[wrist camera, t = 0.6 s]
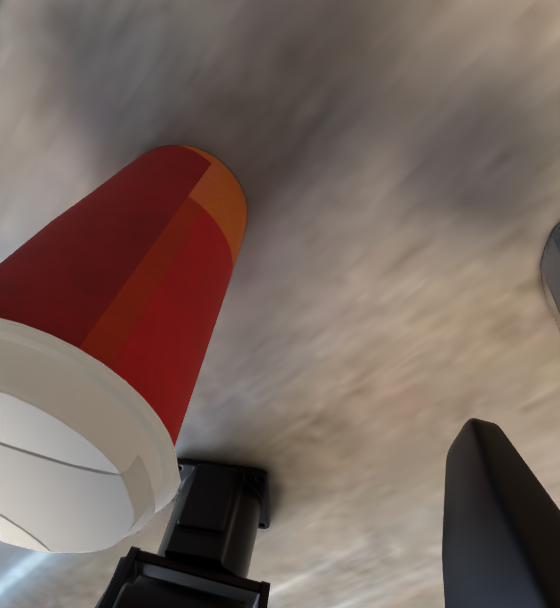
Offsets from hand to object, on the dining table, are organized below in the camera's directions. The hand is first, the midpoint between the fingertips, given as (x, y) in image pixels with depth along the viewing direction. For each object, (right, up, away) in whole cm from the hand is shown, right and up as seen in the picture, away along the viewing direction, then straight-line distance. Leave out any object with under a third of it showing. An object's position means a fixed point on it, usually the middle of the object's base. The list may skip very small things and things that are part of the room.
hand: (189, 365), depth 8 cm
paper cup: (-3, +5, +15) cm, 16 cm away
